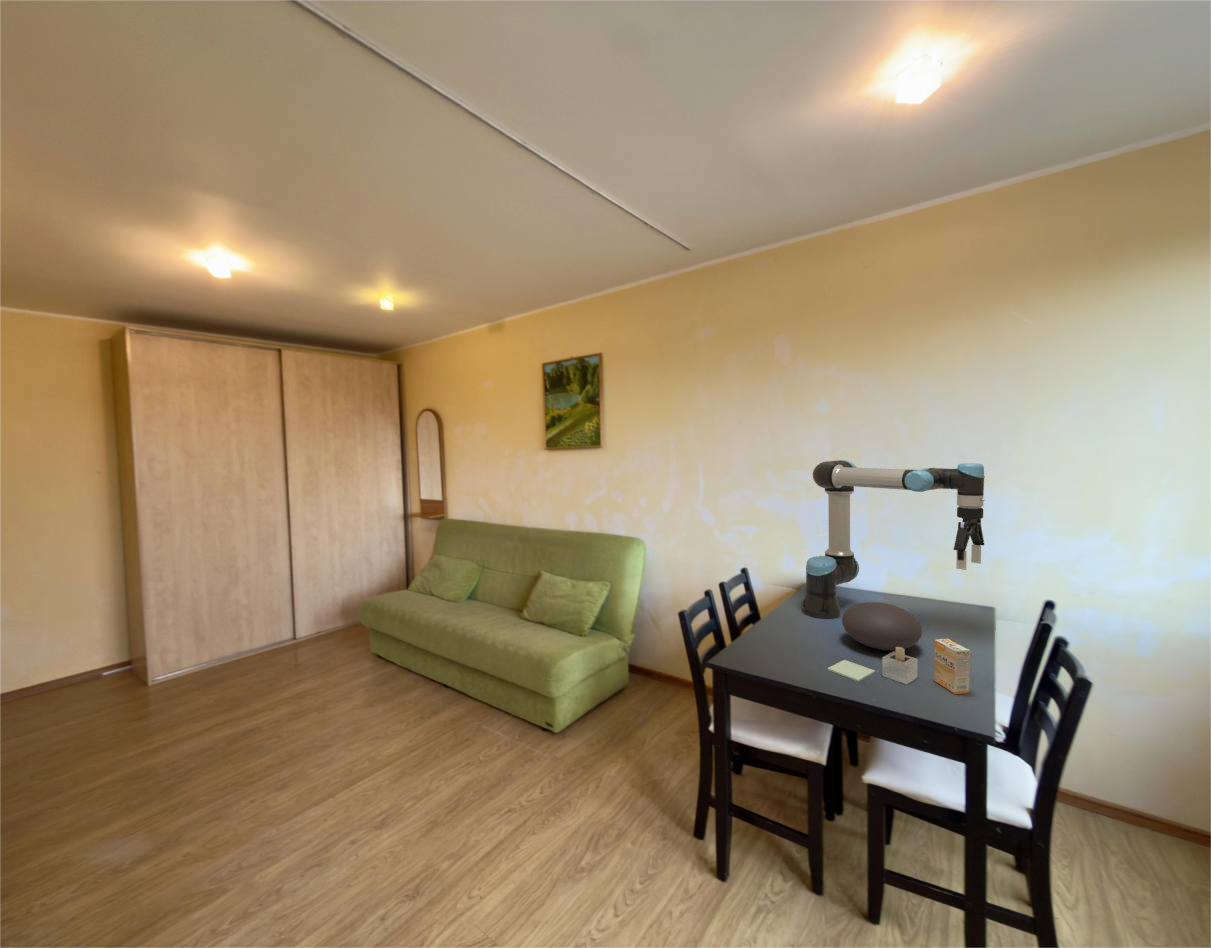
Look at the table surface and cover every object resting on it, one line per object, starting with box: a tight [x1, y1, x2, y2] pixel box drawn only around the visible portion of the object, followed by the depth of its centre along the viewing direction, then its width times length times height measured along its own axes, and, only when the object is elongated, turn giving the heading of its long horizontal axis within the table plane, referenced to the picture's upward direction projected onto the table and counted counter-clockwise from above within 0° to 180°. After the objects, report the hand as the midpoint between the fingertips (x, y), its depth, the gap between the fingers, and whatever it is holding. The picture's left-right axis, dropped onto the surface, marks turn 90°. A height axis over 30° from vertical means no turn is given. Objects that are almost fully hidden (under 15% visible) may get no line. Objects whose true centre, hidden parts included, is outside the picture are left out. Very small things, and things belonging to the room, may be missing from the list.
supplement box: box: [933, 638, 971, 695], centre depth 144 cm, size 8×5×13 cm, turn 5°
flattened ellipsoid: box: [841, 601, 923, 652], centre depth 174 cm, size 25×25×15 cm
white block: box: [882, 650, 919, 685], centre depth 151 cm, size 7×7×6 cm
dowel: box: [895, 647, 906, 662], centre depth 151 cm, size 2×2×9 cm
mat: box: [827, 659, 876, 682], centre depth 156 cm, size 10×10×1 cm
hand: (968, 565), depth 174 cm, fingers open, 13 cm apart
